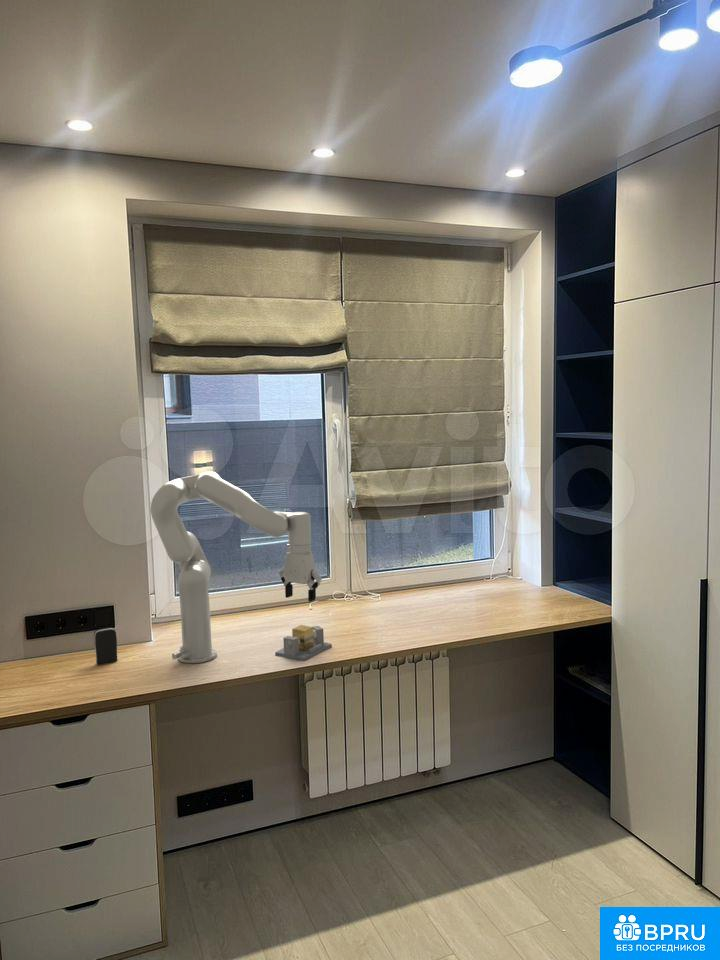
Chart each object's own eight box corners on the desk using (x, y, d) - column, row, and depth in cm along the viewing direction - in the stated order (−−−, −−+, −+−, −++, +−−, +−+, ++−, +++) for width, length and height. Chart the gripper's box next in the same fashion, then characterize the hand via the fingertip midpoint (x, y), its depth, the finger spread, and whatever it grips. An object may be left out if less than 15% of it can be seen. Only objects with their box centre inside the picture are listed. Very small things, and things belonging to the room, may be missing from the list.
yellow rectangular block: (304, 651, 238) (304, 631, 237) (292, 649, 240) (291, 628, 240) (313, 646, 242) (313, 626, 241) (301, 644, 245) (300, 624, 244)
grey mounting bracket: (303, 660, 231) (303, 641, 231) (275, 655, 238) (274, 636, 237) (332, 646, 245) (331, 627, 245) (304, 641, 252) (304, 623, 251)
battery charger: (115, 658, 239) (113, 625, 238) (118, 661, 236) (116, 628, 235) (94, 663, 235) (91, 629, 234) (96, 666, 232) (94, 632, 231)
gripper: (272, 548, 240) (273, 597, 241) (314, 553, 230) (314, 604, 232) (286, 544, 246) (287, 593, 247) (327, 549, 237) (327, 599, 238)
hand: (300, 598), depth 240 cm, fingers open, 9 cm apart
